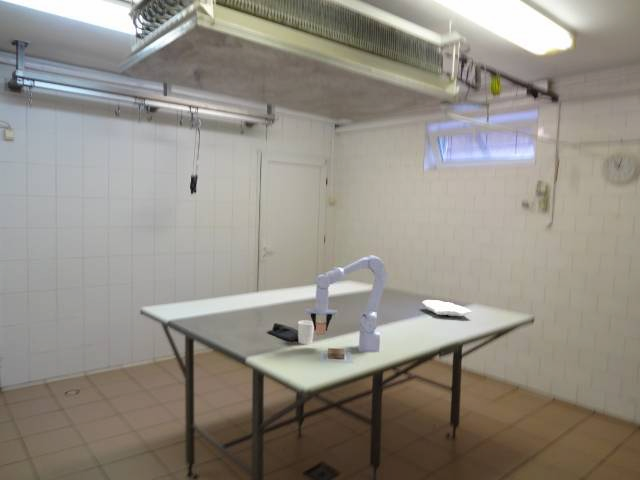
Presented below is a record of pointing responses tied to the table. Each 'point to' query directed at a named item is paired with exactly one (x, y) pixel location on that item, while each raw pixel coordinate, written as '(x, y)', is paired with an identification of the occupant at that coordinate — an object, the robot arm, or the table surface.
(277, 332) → the dark slate chunk
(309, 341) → the white cup
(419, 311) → the table surface
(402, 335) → the table surface
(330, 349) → the base block
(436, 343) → the table surface
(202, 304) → the table surface
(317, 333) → the top block
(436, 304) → the crumpled cloth
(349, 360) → the blueprint board
